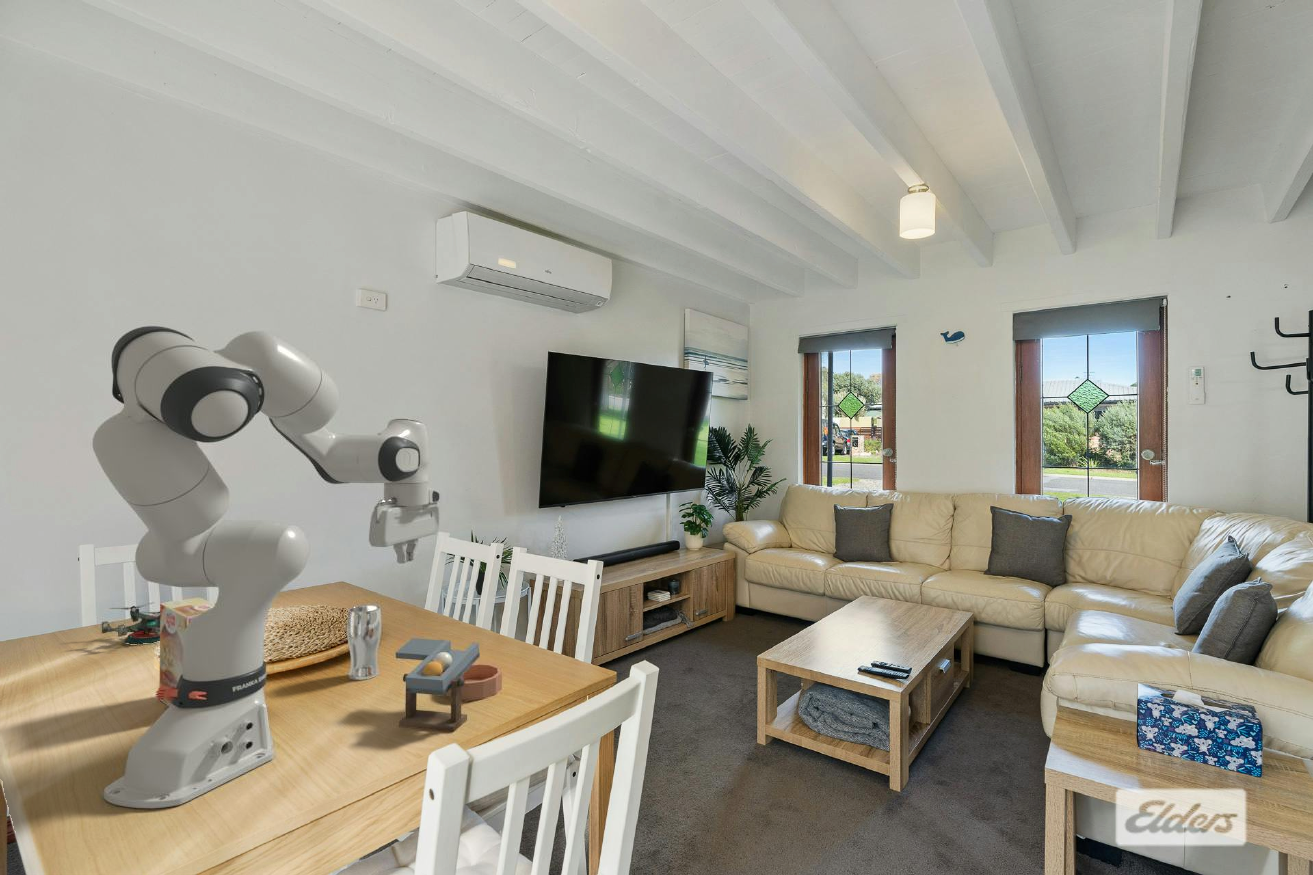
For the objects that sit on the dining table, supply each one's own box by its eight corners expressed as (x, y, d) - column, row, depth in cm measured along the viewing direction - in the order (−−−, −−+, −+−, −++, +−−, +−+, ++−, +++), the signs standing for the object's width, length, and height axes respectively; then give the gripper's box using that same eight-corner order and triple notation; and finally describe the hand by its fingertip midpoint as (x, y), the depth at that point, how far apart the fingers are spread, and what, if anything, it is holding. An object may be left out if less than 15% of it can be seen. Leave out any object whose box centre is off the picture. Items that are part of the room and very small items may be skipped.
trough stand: (455, 731, 111) (456, 683, 111) (396, 726, 113) (397, 678, 113) (469, 719, 116) (469, 673, 116) (412, 714, 118) (412, 669, 118)
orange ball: (437, 685, 112) (435, 668, 112) (419, 684, 113) (418, 666, 113) (446, 675, 116) (445, 658, 115) (429, 674, 117) (428, 657, 116)
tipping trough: (444, 695, 111) (442, 680, 111) (371, 689, 114) (369, 674, 113) (479, 656, 125) (478, 642, 124) (413, 651, 127) (412, 637, 127)
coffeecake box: (157, 699, 124) (158, 602, 125) (199, 688, 130) (200, 596, 130) (181, 719, 115) (183, 615, 116) (225, 706, 121) (227, 607, 121)
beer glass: (386, 670, 141) (387, 604, 141) (369, 681, 134) (370, 612, 134) (358, 668, 142) (358, 603, 142) (339, 680, 135) (340, 611, 135)
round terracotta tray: (486, 702, 124) (486, 684, 124) (436, 697, 126) (436, 680, 126) (509, 681, 135) (509, 665, 135) (462, 677, 137) (463, 661, 137)
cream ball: (447, 675, 116) (445, 659, 115) (430, 674, 117) (428, 657, 116) (456, 665, 119) (454, 649, 119) (439, 664, 120) (437, 647, 119)
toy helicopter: (199, 636, 164) (199, 605, 164) (132, 655, 150) (132, 620, 150) (153, 628, 172) (153, 598, 172) (85, 644, 158) (85, 612, 158)
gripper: (389, 500, 119) (389, 572, 119) (445, 493, 139) (444, 554, 139) (360, 500, 120) (360, 570, 120) (420, 492, 140) (419, 553, 140)
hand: (405, 561), depth 130 cm, fingers closed
